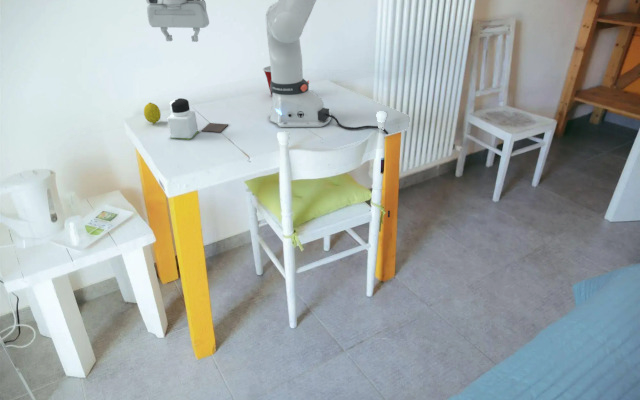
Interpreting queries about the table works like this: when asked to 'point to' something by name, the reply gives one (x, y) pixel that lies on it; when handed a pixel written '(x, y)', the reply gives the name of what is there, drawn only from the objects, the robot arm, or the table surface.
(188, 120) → the medicine bottle
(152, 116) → the lemon
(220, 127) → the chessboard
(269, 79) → the plastic cup
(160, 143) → the table surface
